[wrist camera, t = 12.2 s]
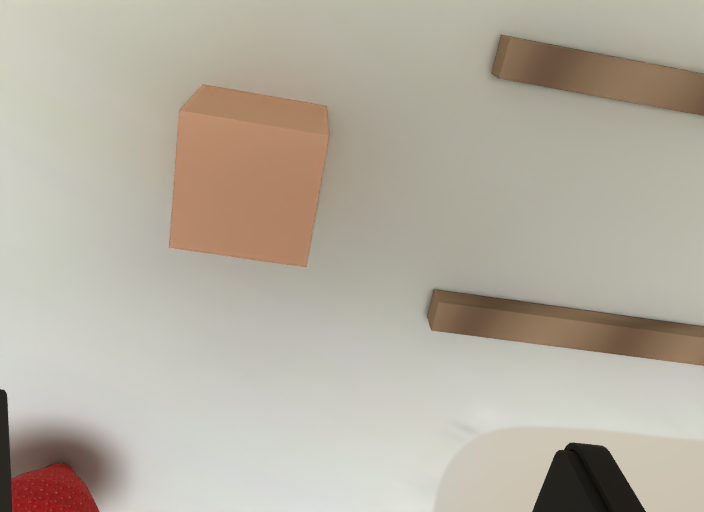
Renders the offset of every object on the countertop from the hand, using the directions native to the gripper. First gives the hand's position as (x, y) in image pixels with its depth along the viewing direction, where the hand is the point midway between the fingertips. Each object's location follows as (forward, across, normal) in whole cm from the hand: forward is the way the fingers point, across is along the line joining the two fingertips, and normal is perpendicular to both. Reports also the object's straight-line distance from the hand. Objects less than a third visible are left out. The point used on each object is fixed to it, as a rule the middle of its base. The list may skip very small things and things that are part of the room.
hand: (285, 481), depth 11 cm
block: (+18, +2, 0) cm, 18 cm away
